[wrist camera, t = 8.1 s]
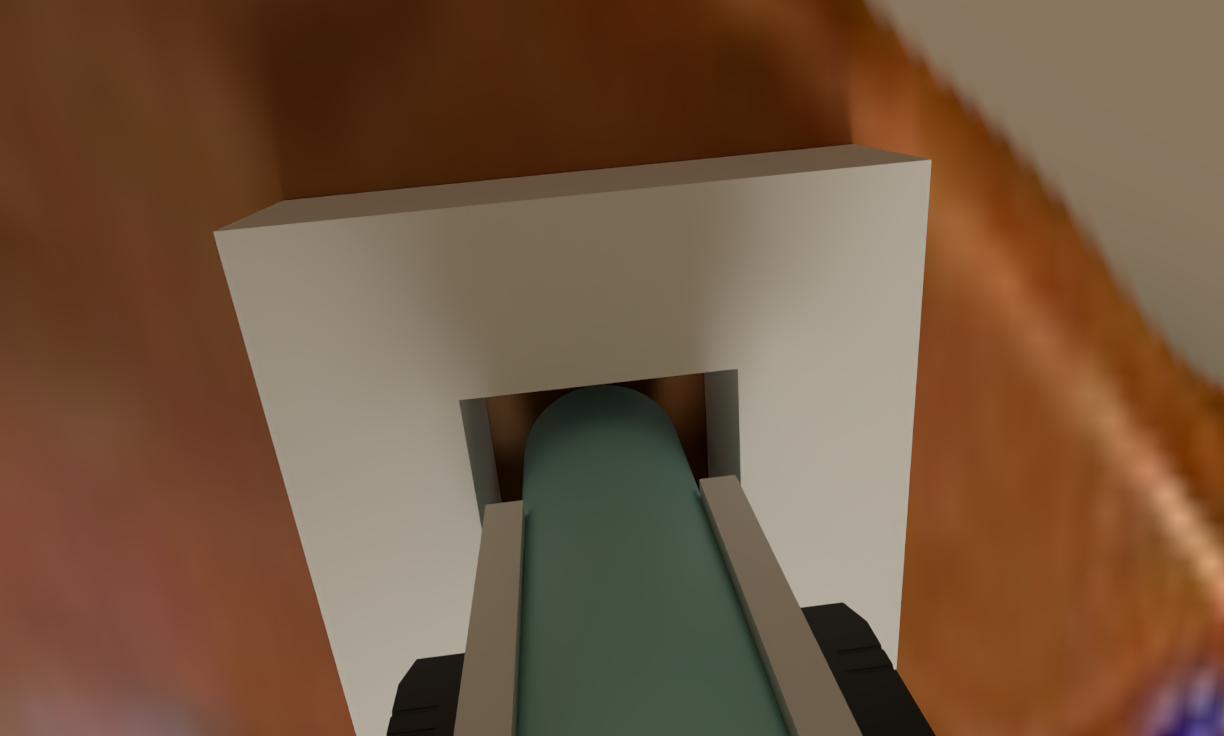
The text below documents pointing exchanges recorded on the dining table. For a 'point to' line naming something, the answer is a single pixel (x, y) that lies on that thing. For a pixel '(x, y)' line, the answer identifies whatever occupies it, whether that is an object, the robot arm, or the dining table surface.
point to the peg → (627, 585)
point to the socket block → (584, 366)
